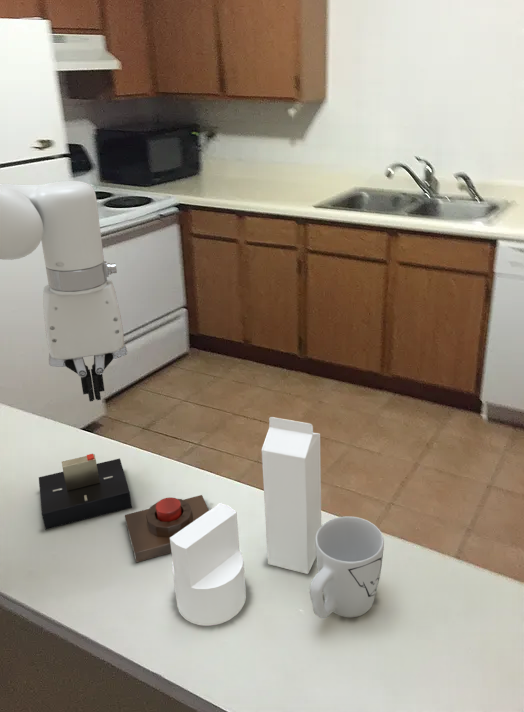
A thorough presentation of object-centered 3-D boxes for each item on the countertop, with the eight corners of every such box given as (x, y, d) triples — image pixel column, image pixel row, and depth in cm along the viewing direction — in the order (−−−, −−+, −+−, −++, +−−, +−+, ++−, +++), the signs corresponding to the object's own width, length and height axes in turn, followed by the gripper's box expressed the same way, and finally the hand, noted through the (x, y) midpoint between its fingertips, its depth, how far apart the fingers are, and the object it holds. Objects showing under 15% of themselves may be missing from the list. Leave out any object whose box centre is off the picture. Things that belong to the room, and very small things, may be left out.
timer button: (159, 525, 96) (158, 515, 95) (154, 510, 99) (153, 500, 98) (184, 518, 97) (183, 509, 96) (178, 504, 100) (177, 494, 99)
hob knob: (67, 491, 104) (62, 465, 102) (66, 485, 106) (61, 460, 104) (99, 483, 106) (95, 457, 104) (98, 477, 107) (94, 452, 105)
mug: (342, 653, 79) (342, 589, 75) (287, 617, 84) (285, 555, 80) (394, 595, 86) (397, 534, 82) (342, 566, 92) (342, 507, 88)
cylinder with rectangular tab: (212, 563, 93) (205, 492, 88) (260, 594, 88) (255, 520, 83) (162, 602, 87) (151, 528, 82) (210, 637, 81) (201, 561, 76)
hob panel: (45, 530, 101) (41, 513, 99) (42, 492, 109) (38, 476, 108) (132, 507, 105) (129, 491, 103) (122, 473, 113) (119, 457, 112)
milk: (283, 537, 97) (277, 405, 89) (322, 546, 95) (320, 411, 87) (267, 565, 92) (259, 428, 83) (308, 575, 90) (304, 435, 81)
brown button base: (136, 562, 94) (133, 543, 92) (126, 523, 101) (123, 505, 100) (218, 539, 97) (217, 520, 96) (202, 503, 105) (201, 485, 104)
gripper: (129, 262, 95) (142, 377, 102) (17, 274, 91) (39, 394, 98) (137, 277, 89) (150, 399, 96) (17, 291, 84) (40, 418, 91)
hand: (94, 396), depth 97 cm, fingers closed
